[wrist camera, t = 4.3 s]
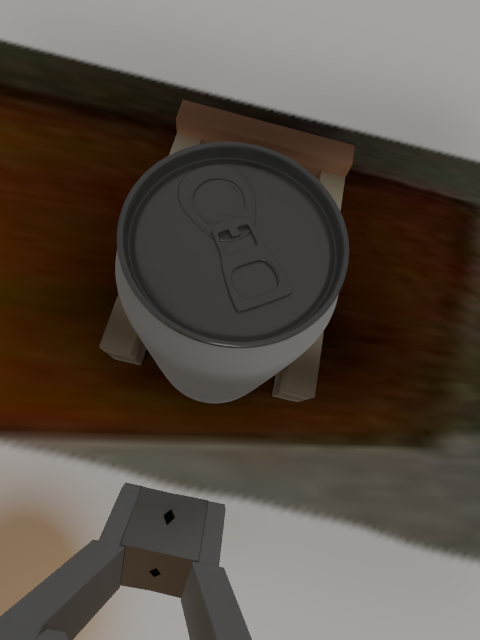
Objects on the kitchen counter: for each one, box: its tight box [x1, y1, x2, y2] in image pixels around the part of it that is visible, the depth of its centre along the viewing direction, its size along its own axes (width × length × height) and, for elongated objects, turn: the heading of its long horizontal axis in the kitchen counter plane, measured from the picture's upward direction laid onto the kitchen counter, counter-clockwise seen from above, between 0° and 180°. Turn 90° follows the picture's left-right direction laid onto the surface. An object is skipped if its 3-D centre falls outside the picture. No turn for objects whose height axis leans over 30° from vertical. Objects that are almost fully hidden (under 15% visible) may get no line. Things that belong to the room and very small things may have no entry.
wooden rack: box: [99, 100, 355, 402], centre depth 19 cm, size 15×10×4 cm
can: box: [115, 142, 349, 403], centre depth 14 cm, size 6×6×12 cm
